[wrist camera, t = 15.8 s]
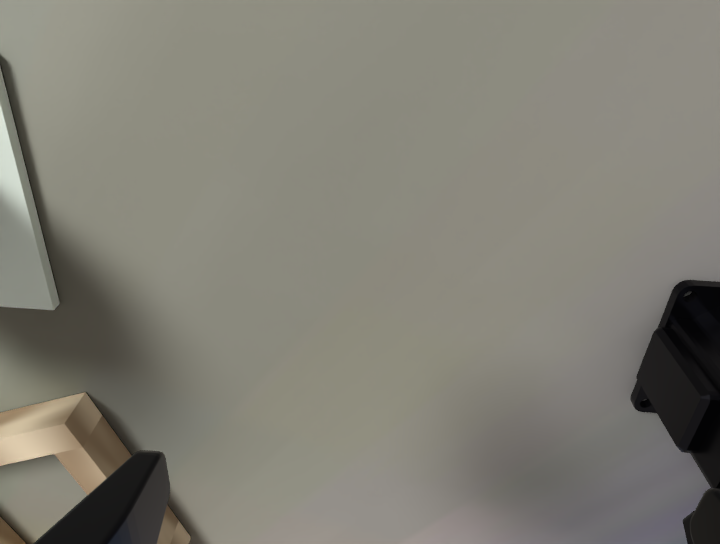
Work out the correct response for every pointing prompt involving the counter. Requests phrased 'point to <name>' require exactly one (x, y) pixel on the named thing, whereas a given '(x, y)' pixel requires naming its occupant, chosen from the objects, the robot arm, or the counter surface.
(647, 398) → the robot arm
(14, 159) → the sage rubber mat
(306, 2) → the counter surface
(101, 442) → the oak socket frame
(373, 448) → the counter surface
